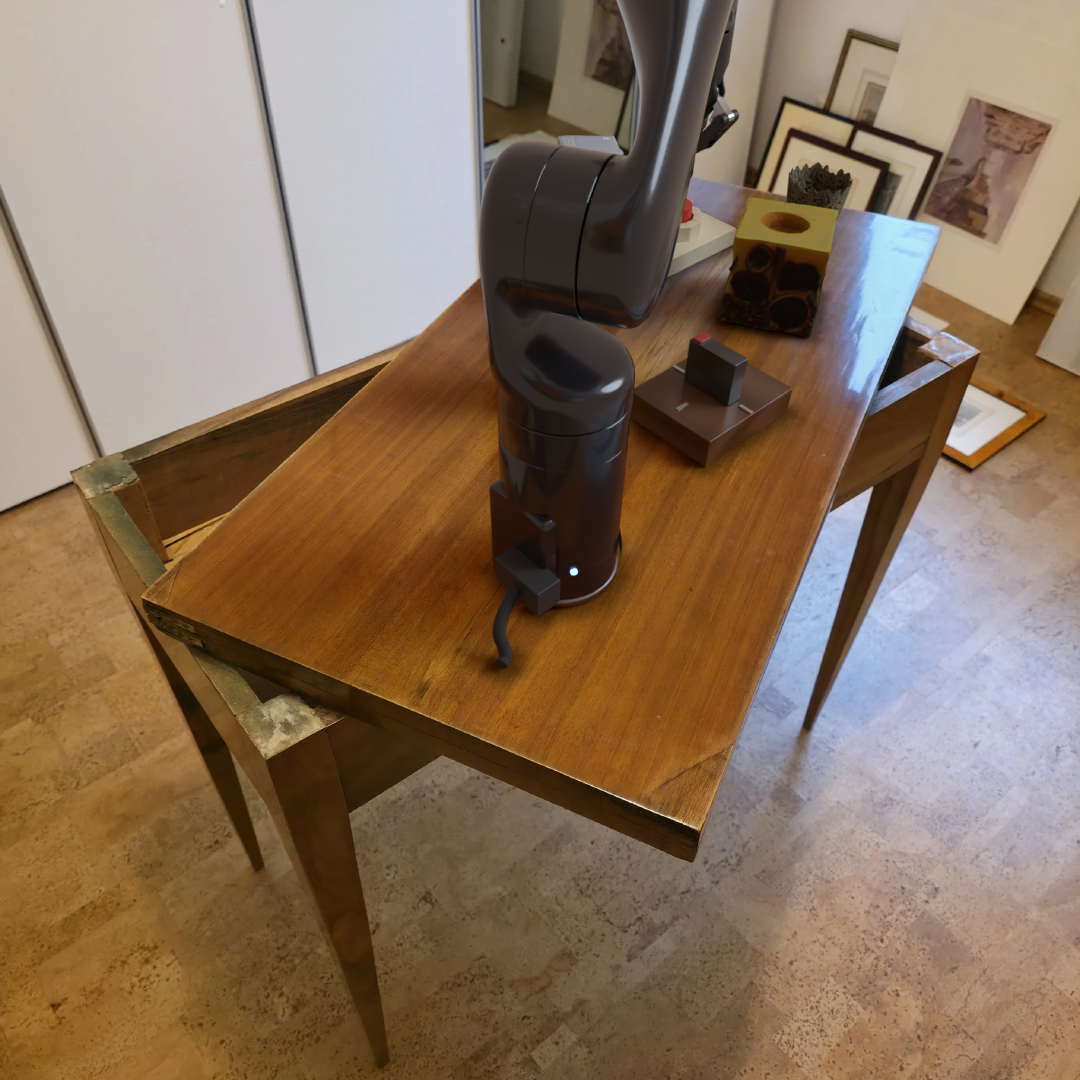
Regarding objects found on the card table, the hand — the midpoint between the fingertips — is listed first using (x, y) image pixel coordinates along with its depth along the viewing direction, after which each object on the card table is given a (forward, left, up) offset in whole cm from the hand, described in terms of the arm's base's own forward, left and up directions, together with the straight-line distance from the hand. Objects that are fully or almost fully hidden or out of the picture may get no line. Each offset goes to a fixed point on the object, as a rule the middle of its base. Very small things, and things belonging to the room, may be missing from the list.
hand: (678, 181), depth 102 cm
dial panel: (-22, -25, -8) cm, 34 cm away
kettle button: (0, 0, -4) cm, 4 cm away
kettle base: (0, 0, -8) cm, 8 cm away
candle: (-2, -17, -8) cm, 19 cm away
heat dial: (-22, -25, -5) cm, 34 cm away
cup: (+14, -10, -8) cm, 19 cm away
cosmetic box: (-15, 0, -8) cm, 17 cm away
